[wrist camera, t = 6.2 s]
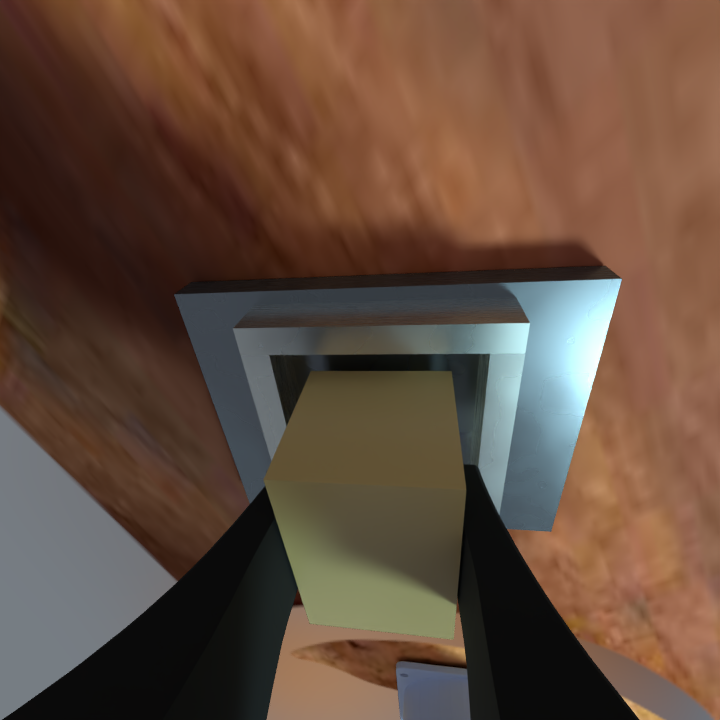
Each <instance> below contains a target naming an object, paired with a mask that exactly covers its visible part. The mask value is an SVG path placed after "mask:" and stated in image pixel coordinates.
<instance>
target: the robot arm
mask: <svg viewBox="0 0 720 720" xmlns="http://www.w3.org/2000/svg"><path fill="white" fill-rule="evenodd" d="M463 467H464V475H465V483H466V499H465V511H464V523H463V534H462V546H461V557H460V569H459V581H458V592H457V597H458V604H459V611H460V617H461V624H462V630H463V638H464V645H465V654H466V663H467V669H464V668H456V667H448V666H439V665H431V664H423V663H415V662H406V661H399V662H397V664H396V676H397V687H398V698H399V709H400V719H401V720H639V719H638V717H637V716H636V715H635V713H634V712H633V711H632V710H631V708H630V707H629V706H628V705H627V703H626V702H625V701H624V700H623V698H622V697H621V696H620V695H619V693H618V692H617V691H616V690H615V688H614V687H613V686H612V684H611V683H610V682H609V681H608V679H607V678H606V677H605V676H604V674H603V673H602V672H601V670H600V669H599V668H598V667H597V665H596V664H595V663H594V662H593V660H592V659H591V658H590V656H589V655H588V654H587V652H586V651H585V649H584V648H583V647H582V645H581V644H580V643H579V641H578V640H577V638H576V637H575V636H574V634H573V633H572V632H571V630H570V629H569V627H568V626H567V625H566V623H565V622H564V620H563V619H562V617H561V616H560V615H559V613H558V612H557V610H556V609H555V607H554V606H553V604H552V603H551V601H550V600H549V598H548V597H547V595H546V594H545V592H544V591H543V589H542V588H541V586H540V585H539V583H538V581H537V580H536V578H535V577H534V575H533V573H532V572H531V570H530V569H529V567H528V565H527V564H526V562H525V560H524V559H523V557H522V555H521V554H520V552H519V550H518V548H517V547H516V545H515V543H514V541H513V540H512V538H511V536H510V534H509V532H508V530H507V529H506V527H505V525H504V523H503V521H502V519H501V517H500V515H499V513H498V512H497V509H496V507H495V505H494V503H493V501H492V499H491V497H490V495H489V493H488V490H487V488H486V486H485V483H484V481H483V478H482V476H481V473H480V470H479V468H478V467H477V466H476V465H470V464H463ZM297 589H298V586H297V583H296V580H295V577H294V574H293V570H292V567H291V564H290V561H289V558H288V555H287V552H286V549H285V546H284V542H283V539H282V536H281V533H280V530H279V527H278V524H277V521H276V518H275V514H274V511H273V508H272V505H271V502H270V499H269V496H268V493H267V490H266V486H264V487H263V489H262V490H261V491H260V492H259V494H258V495H257V496H256V497H255V499H254V500H253V501H252V502H251V503H250V505H249V506H248V507H247V508H246V509H245V511H244V512H243V513H242V514H241V515H240V517H239V518H238V519H237V520H236V521H235V522H234V524H233V525H232V526H231V527H230V528H229V529H228V530H227V531H226V532H225V534H224V535H223V536H222V537H221V538H220V539H219V540H218V541H217V542H216V543H215V545H214V546H213V547H212V548H211V549H210V550H209V551H208V552H207V553H206V554H205V555H204V556H203V557H202V558H201V559H200V560H199V561H198V562H197V563H196V564H195V565H194V566H193V567H192V568H191V569H190V570H189V571H188V572H187V573H186V574H185V575H184V576H183V577H182V578H181V579H180V580H179V581H178V582H177V583H176V584H175V585H174V586H173V587H172V588H171V589H169V590H168V591H167V592H166V593H165V594H164V595H163V596H162V597H160V598H159V599H158V600H157V601H156V602H155V603H154V604H153V605H152V606H150V607H149V608H148V609H147V610H146V611H145V612H144V613H143V614H141V615H140V616H139V617H138V618H137V619H136V620H134V621H133V622H132V623H131V624H130V625H128V626H127V627H126V628H125V629H123V630H122V631H121V632H120V633H119V634H117V635H116V636H115V637H113V638H112V639H111V640H110V641H108V642H107V643H106V644H105V645H103V646H102V647H101V648H100V649H98V650H97V651H96V652H95V653H93V654H92V655H91V656H90V657H88V658H87V659H86V660H85V661H83V662H82V663H81V664H79V665H78V666H77V667H75V668H74V669H73V670H71V671H70V672H69V673H67V674H66V675H64V676H63V677H62V678H60V679H59V680H58V681H56V682H55V683H53V684H52V685H51V686H49V687H48V688H47V689H45V690H44V691H42V692H41V693H39V694H38V695H37V696H35V697H34V698H32V699H31V700H30V701H28V702H27V703H25V704H24V705H23V706H21V707H20V708H18V709H17V710H16V711H14V712H13V713H11V714H10V715H8V716H7V717H5V718H4V719H2V720H266V719H267V713H268V709H269V703H270V698H271V693H272V688H273V683H274V679H275V674H276V669H277V664H278V660H279V655H280V650H281V645H282V641H283V637H284V634H285V630H286V626H287V622H288V619H289V616H290V612H291V609H292V606H293V602H294V599H295V596H296V593H297Z"/></svg>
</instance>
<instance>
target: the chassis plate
mask: <svg viewBox="0 0 720 720" xmlns="http://www.w3.org/2000/svg"><path fill="white" fill-rule="evenodd" d="M621 280H622V278H620V277H619V276H618V275H616V274H615V273H614V272H613V271H611V270H610V269H609V268H608V267H606V266H585V267H560V268H535V269H510V270H485V271H460V272H435V273H410V274H385V275H360V276H335V277H310V278H285V279H260V280H235V281H211V282H191V283H189V284H188V285H187V286H185V287H184V288H182V289H181V290H180V291H178V292H177V293H175V294H174V296H175V299H176V301H177V304H178V307H179V310H180V312H181V315H182V318H183V321H184V323H185V326H186V329H187V332H188V334H189V337H190V340H191V343H192V345H193V348H194V351H195V354H196V356H197V359H198V362H199V365H200V367H201V370H202V373H203V376H204V378H205V381H206V384H207V387H208V389H209V392H210V395H211V398H212V400H213V403H214V406H215V409H216V411H217V414H218V417H219V420H220V422H221V425H222V428H223V431H224V433H225V436H226V439H227V442H228V444H229V447H230V450H231V453H232V455H233V458H234V461H235V464H236V466H237V469H238V472H239V475H240V478H241V480H242V483H243V486H244V489H245V491H246V494H247V497H248V500H249V502H250V503H251V502H252V501H253V500H254V499H255V497H256V496H257V495H258V494H259V492H260V491H261V490H262V489H263V487H264V486H265V483H264V477H265V475H266V473H267V470H268V468H269V466H270V463H271V461H272V459H273V457H274V454H275V452H276V450H277V447H278V445H279V443H280V441H281V438H282V436H283V434H284V431H285V429H286V427H287V424H288V422H289V420H290V418H291V415H292V413H293V411H294V408H295V406H296V404H297V402H298V399H299V397H300V395H301V392H302V390H303V388H304V385H305V383H306V381H307V379H308V376H309V374H310V372H311V371H452V378H453V386H454V394H455V402H456V410H457V418H458V426H459V434H460V443H461V451H462V459H463V464H470V465H476V466H477V467H478V468H479V470H480V473H481V476H482V478H483V481H484V483H485V486H486V488H487V490H488V493H489V495H490V497H491V499H492V501H493V503H494V505H495V507H496V509H497V512H498V513H499V515H500V517H501V519H502V521H503V523H504V525H505V527H506V529H518V530H534V531H550V532H551V530H552V526H553V523H554V519H555V516H556V512H557V508H558V505H559V501H560V498H561V494H562V491H563V487H564V483H565V480H566V476H567V473H568V469H569V466H570V462H571V458H572V455H573V451H574V448H575V444H576V441H577V437H578V434H579V430H580V426H581V423H582V419H583V416H584V412H585V409H586V405H587V401H588V398H589V394H590V391H591V387H592V384H593V380H594V377H595V373H596V369H597V366H598V362H599V359H600V355H601V352H602V348H603V344H604V341H605V337H606V334H607V330H608V327H609V323H610V320H611V316H612V312H613V309H614V305H615V302H616V298H617V295H618V291H619V287H620V284H621Z"/></svg>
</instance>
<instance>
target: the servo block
mask: <svg viewBox="0 0 720 720" xmlns="http://www.w3.org/2000/svg"><path fill="white" fill-rule="evenodd" d="M264 483H265V486H266V490H267V493H268V496H269V499H270V502H271V505H272V508H273V511H274V514H275V518H276V521H277V524H278V527H279V530H280V533H281V536H282V539H283V542H284V546H285V549H286V552H287V555H288V558H289V561H290V564H291V567H292V570H293V574H294V577H295V580H296V583H297V586H298V589H299V592H300V595H301V598H302V602H303V605H304V608H305V611H306V613H307V617H308V620H309V623H310V624H316V625H325V626H335V627H344V628H353V629H362V630H371V631H381V632H390V633H398V634H408V635H417V636H426V637H435V638H444V639H454V627H455V615H456V604H457V592H458V581H459V569H460V557H461V546H462V534H463V523H464V511H465V499H466V483H465V475H464V467H463V459H462V451H461V443H460V434H459V426H458V418H457V410H456V402H455V394H454V386H453V378H452V371H311V372H310V374H309V376H308V379H307V381H306V383H305V385H304V388H303V390H302V392H301V395H300V397H299V399H298V402H297V404H296V406H295V408H294V411H293V413H292V415H291V418H290V420H289V422H288V424H287V427H286V429H285V431H284V434H283V436H282V438H281V441H280V443H279V445H278V447H277V450H276V452H275V454H274V457H273V459H272V461H271V463H270V466H269V468H268V470H267V473H266V475H265V477H264Z"/></svg>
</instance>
